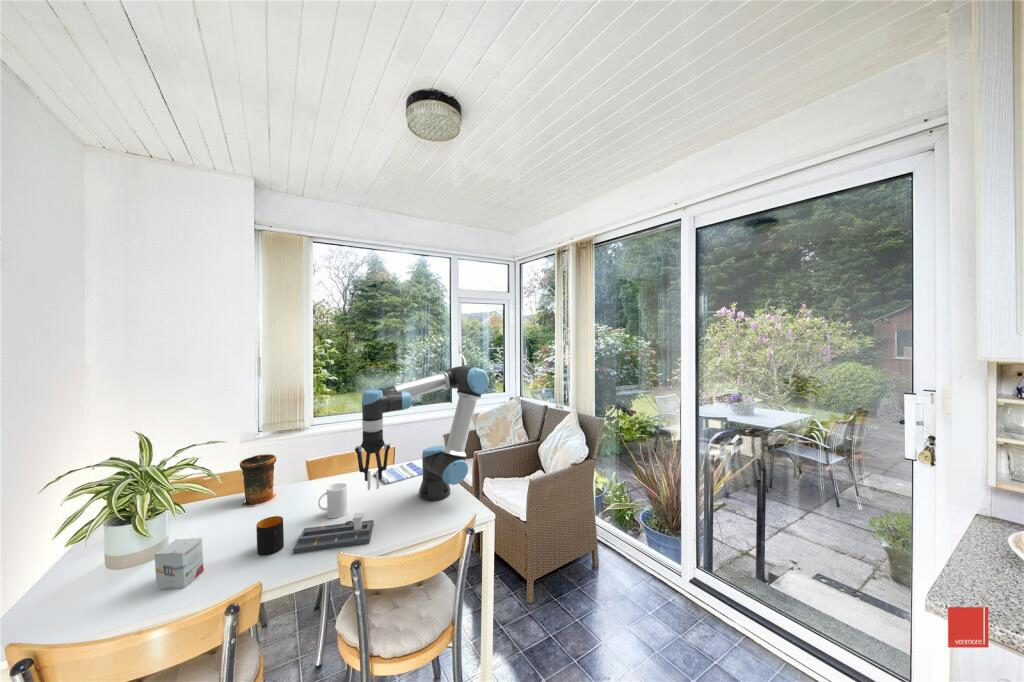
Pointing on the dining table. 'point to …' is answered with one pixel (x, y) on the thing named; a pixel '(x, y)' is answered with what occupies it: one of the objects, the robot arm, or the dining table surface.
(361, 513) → the fader
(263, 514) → the dining table surface
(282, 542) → the mug
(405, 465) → the dish towel
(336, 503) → the mug
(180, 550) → the ink box
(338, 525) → the console
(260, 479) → the vessel
